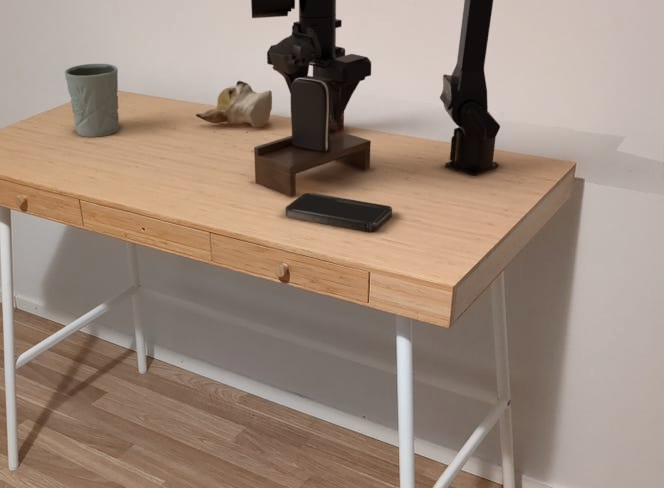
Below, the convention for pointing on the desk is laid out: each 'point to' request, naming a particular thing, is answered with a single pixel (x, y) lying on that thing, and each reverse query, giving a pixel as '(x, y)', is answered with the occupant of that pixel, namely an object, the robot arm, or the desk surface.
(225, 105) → the ceramic sculpture
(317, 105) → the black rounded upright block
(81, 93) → the green planter pot
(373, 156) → the desk surface
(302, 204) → the phone
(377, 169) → the desk surface
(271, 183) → the shelf
